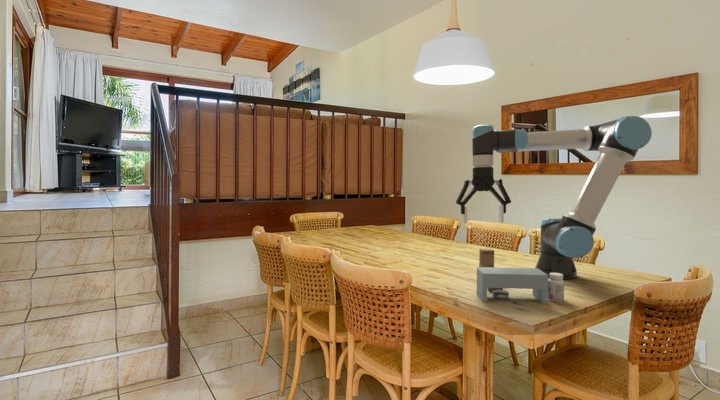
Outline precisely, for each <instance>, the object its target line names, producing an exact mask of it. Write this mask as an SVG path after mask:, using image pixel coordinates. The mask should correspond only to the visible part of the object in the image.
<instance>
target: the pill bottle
mask: <svg viewBox="0 0 720 400" xmlns="http://www.w3.org/2000/svg"><path fill="white" fill-rule="evenodd" d="M564 299H565V281H564V279H563V274H560V273H550V274H549V278H548V297H547V300H549V301H552V302H563V301H564Z"/></svg>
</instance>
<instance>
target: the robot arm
mask: <svg viewBox="0 0 720 400" xmlns="http://www.w3.org/2000/svg"><path fill="white" fill-rule="evenodd" d="M652 131H653V130H652V128H651V126H650V123H649V122H648V120H646V119H644V118H642V116H641V117H640V116H637V115H630V116H629V115H628V116H627V115H626V116H623V117H622V116H621V117H620V118H618V119H614V120H611V121H608V122H603V123H601V124H596V125H595V124H594V125H589V126H587V125H586V126H584V127H583V128H582V129H581V128H580V129H578V128H577V129H565V130H562V129H561V130H560V129H559V130H548V131H547V130H546V131H528V132H527V130H526V129H518V128H516V129H503V130H496V129H494V126H493V124H481V125H479V124H478V125H475V126H474V127H473V128H472V136H471V137H472V138H471V139H472V142H471V145H472V166H473V167H472V180H468V179H464V180H463V186H462V188H461V191H460V193H459V195H458V197H457V199H456V201H455V203H456V205H459V206H460V214H461V215H463V223H464V224H468V206H467V205H466V204H467V203H468V202H469V201H470V199H472V197H473V196H475V194H476V193H477V192H489V193H491V194H492V195H493V196H494V197H495V199H496V200H497V201H498V202H499V203H500V204H498V211H499V212H498V218H499V219H498V221H499V223H504V222H505V221H504V219H505V218H504V217H505V216H504V214H506V213H507V205H508V204H512V200H511V197H510V196H509V195H508V192H507V190H506V188H505V186H504V183H503V179H501V178H498V179H494V167H492V166H494V152H496V153H499V154H504V153H515V152H531V151H532V152H537V151H556V150H557V151H558V150H577V149H580V150H581V149H582V150H583V151H584V152H587V151H590V152H591V151H592V152H593V151H598V152H599V155H598V157H597V159H596V161H595V163H594V165H593V167H592V169H591V171H590V172H589V174H588V176H587V178H586V180H585V182H584V184H583V186H582V188H581V190H580V192H579V194H578V195H577V198H576V200H575V202H574V204H573V205H572V207H571V209H570V211H569V212H568V213H564V214H563V215H562V216H561V218H558V217H557V218H543V219H542V220H541V223H540V251H539V252H540V253H539V257H538V259H537V262H536V265H535V267H534V268H538V269H539V270H541V271H542V272H544V273H546V274H547V275H548V279H550V278H549V274H550V273H560V274H563V280H573V279H576V278H577V275H578V270H577V268H576V265H575V261H574V259H577V258H583V257H585V256H586V255H588V254H589V253H590V252H591V251H592V250H593V248H594V245H595V239H594V234H595V232H596V231H597V227H596V224H595V222H596V220H597V218H598V216H599V214H600V212H601V211H602V210H603V207H604V205H605V203H606V201H607V199H608V198H609V196H610V194H611V192H612V189H613V187H614V186H615V184H616V182H617V180H618V178H619V176H620V175H621V172H622V170H623V169H624V167H625V165H626V164H627V163H628V162H630V161H633V160H634V158H635V157H636V156H637V153H638V151H639V150H640V149H643V148H644V147H645V146H647V145H648V144H649V142H650V141H651V138H652V135H653V132H652ZM494 184H495V185H496V186H497V188H498V189H499V192H500V193H501V195H502V196H501V195H500V194H499V193H498V192H497V190H496V189H495V188H494V187H493V186H494ZM471 185H472V186H473V187H472V188H471V190H470V191H469V192H468V194H467V195H466V196H465V194H466V192H467V190H468V188H469V186H471Z"/></svg>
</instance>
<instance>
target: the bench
mask: <svg viewBox="0 0 720 400" xmlns="http://www.w3.org/2000/svg"><path fill="white" fill-rule="evenodd" d="M548 279H549V278H548V275H547V274H546V273H544V272H542V271H541V270H539V269H538V268H535V267H534V268H533V267H527V268H526V267H494V268H493V267H479V266H476V295H477V296H478V297H479V298H480V300H481V302H485V303H486V302H488V288H503V289H521V290H522V289H524V290H525V289H526V290H532V296H534V298H536V300H538V301H539V302H540V303H541V304H548Z"/></svg>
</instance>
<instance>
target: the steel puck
mask: <svg viewBox="0 0 720 400" xmlns="http://www.w3.org/2000/svg"><path fill="white" fill-rule="evenodd" d="M509 296H510V292H509V291H507V290H505V289H503V290H493V291H492V298H493V299H496V300H501V301H503V300H504V301H506V300H509V298H510V297H509Z"/></svg>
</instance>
